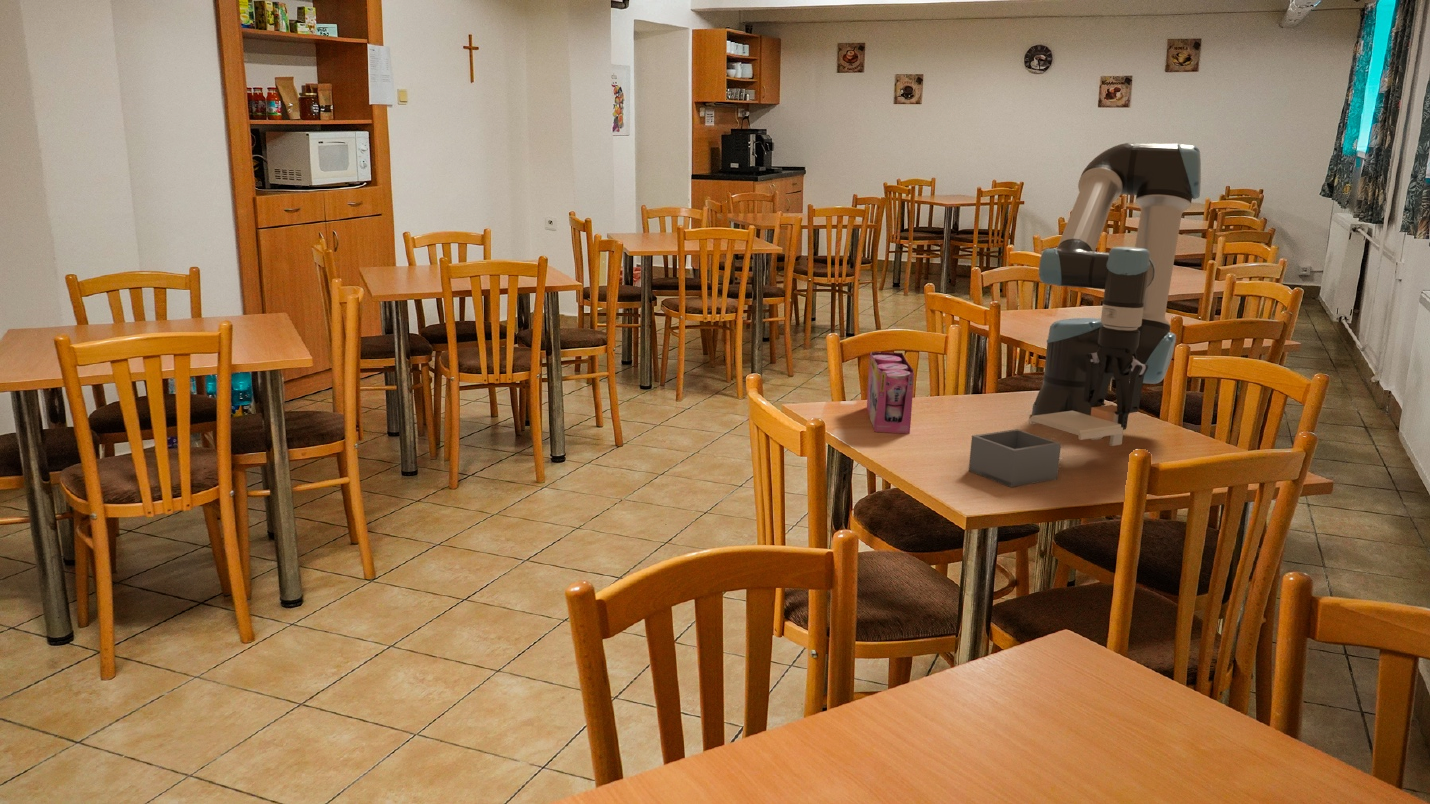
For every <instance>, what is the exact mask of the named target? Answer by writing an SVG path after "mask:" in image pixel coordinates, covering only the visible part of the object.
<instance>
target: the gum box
mask: <svg viewBox="0 0 1430 804" xmlns="http://www.w3.org/2000/svg"><path fill="white" fill-rule="evenodd" d="M868 365H869V366H868V379H867V381H868V382H867V394H866V395H867V397H866V398H867V399H866V409H867V413H868V416H869V418H870V422H871V425H872V427H873V430H874V432H876V433H891V434H892V433H893V434H911V423H912V422H911V421H912V410H913V409H912V408H913V396H914V395H913V393H914V378H915V377H914V376H915V372H914V369H913V367H912V366H911V365H910V363H909V362H908V361H907V358H906V357H905V355H904V353H902V352H889V351H888V352H883V351H881V352H880V351H871V352H870V353H869V364H868Z"/></svg>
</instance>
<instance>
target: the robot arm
mask: <svg viewBox="0 0 1430 804" xmlns="http://www.w3.org/2000/svg"><path fill="white" fill-rule="evenodd" d="M1201 163H1202V162H1201V152H1200V149H1199V147H1197V146H1196V145H1192V144H1182V143H1181V144H1180V143H1179V142H1177V143H1147V142H1146V143H1139V142H1138V143H1137V142H1125V143H1121V144H1118V145H1114V146H1112V147H1110V148H1108V149H1106V150H1105V151H1102V152H1101V153H1099V154H1098V155H1096V156H1095V158H1093V159H1092V160H1091V161H1090V162H1089V163H1088V164H1087V165H1086V167H1085V168H1084V170H1083V171H1082V173H1081V175H1080V177H1079V180H1078V183H1077V185H1078V186H1077V189H1078V192H1079V193H1078V195H1077V197H1076V200H1075V203H1074V205H1073V207H1072V210H1071V213H1070V214H1069V217H1068V220H1067V222H1066V225H1065V227H1064V230H1063V232H1062V235H1061V237H1060V239H1059V242H1058V245H1057V247H1053V248H1045V249H1044V250H1043V251H1042V253H1041V256H1040V259H1039V265H1038V277H1039V280H1040V282H1041V283H1042V284H1045V285H1052V286H1053V285H1054V286H1057V287H1070V288H1071V287H1072V288H1081V289H1082V288H1085V289H1096V290H1103V291H1104V292H1103V300H1102V308H1101V314H1100V315H1101V316H1100V318H1098V317H1097V318H1095V317H1076V318H1067V319H1066V318H1065V319H1060V320H1059V319H1058V320H1056V321H1054V322H1053V323H1051V324H1050V326H1049V330H1048V335H1047V339H1046V352H1045V360H1044V361H1045V363H1044V371H1043V372H1044V373H1043V381H1042V385H1041V387H1040V389H1039V391H1038V394H1037V396H1036V397H1035V401H1034V402H1033V404H1032V410H1031V416H1035V415H1043V414H1050V413H1058V412H1066V411H1076V412H1079V413H1083V414H1086V415H1090V416H1091V409H1092V407H1099V406H1107V405H1106V403H1105V400H1106V397H1107V394H1108V390H1109V387H1110V383H1111V381H1112V380H1114V381H1115V393H1116V394H1115V396H1116V406H1117V411H1116V412H1115V413H1113V421H1112V422H1114V423H1118V424H1121V427H1123V432H1122V434H1116V435H1110V438H1109V443H1108V444H1109V446H1112V447H1114V446H1120V445H1122V443H1123V437H1124V436H1123V435H1124V431H1125V430H1126V429H1127V427H1128V419H1129V415H1130V414H1133V413H1138V412H1139V410H1140V403H1141V402H1140V401H1141V396H1142V392H1143V391H1142V390H1143V384H1150V385H1151V384H1153V385H1156V384H1159V383H1161V382H1162V381H1163V380H1164V378H1165V377H1166V375H1167V371H1168V369H1169V366H1170V364H1171V361H1172V358H1173V355H1174V351H1175V345H1176V342H1177V334H1175V333H1173V332H1171V327H1172V326H1171V325H1172V324H1171V323H1169V321H1168V320H1167V318H1166V312H1167V306H1168V300H1169V293H1170V288H1171V283H1172V276H1173V269H1174V265H1175V263H1174V262H1175V257H1176V250H1177V244H1178V238H1179V234H1180V233H1179V232H1180V227H1181V221H1182V216H1183V215H1182V214H1183V213H1184V212H1185V211H1187V210H1189V209H1190V208H1191V206H1192V200H1196V199H1199V198H1200V195H1201V182H1202V181H1201V179H1202V178H1201V177H1202V176H1201V175H1202V172H1201V168H1202V167H1201ZM1122 195H1125V196H1126V195H1127V196H1135V204H1136V206H1138V208H1139V209H1140V215H1139V220H1138V226H1137V233H1136V238H1135V244H1134V246H1114V247H1112V248H1111V249H1110V250H1109V251H1108V252H1103V251H1096V249H1097V247H1098V245H1099V241H1100V239H1101V236H1102V233H1103V231H1104V228H1105V225H1106V223H1107V220H1108V216H1109V214H1110V212H1111V208H1112V206H1113V203H1114V202H1116V200H1118V198H1120V196H1122ZM1103 437H1104V436H1103ZM1103 437H1096V438H1090V440H1092V441H1097V440H1102V439H1103Z"/></svg>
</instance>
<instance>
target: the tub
mask: <svg viewBox="0 0 1430 804" xmlns="http://www.w3.org/2000/svg"><path fill="white" fill-rule="evenodd" d="M970 441H971V442H970V453H969V464H968V472H971V473H974V474H976V475H978V476H981V477H983V478H986V479H989V480H991V481H994V482H996V483H999V484H1000V485H1004V486H1007V487H1009V488H1014V487H1015V488H1016V487H1020V486H1026V485H1030V484H1031V485H1032V484H1037V483H1042V482H1048V481H1052V480H1053V481H1054V480H1058V474H1059V473H1058V472H1059V464H1060V455H1061V447H1062V443H1061V442H1058V441H1056V440H1052V439H1050V438H1047V437H1042V436H1040V435H1037V434H1033V433H1031V432H1028V431H1025V430H1021V429H1018V428H1016V429H1008V430H1004V431H996V432H988V433H987V432H986V433H980V434H974V435H971V440H970Z"/></svg>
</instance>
